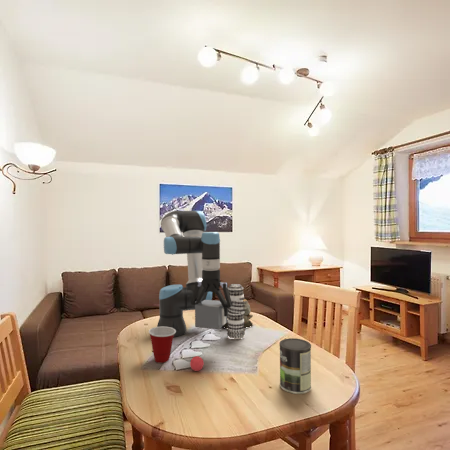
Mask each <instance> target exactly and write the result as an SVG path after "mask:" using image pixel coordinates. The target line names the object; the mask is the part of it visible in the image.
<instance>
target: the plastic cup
mask: <svg viewBox="0 0 450 450" xmlns="http://www.w3.org/2000/svg"><path fill="white" fill-rule="evenodd" d="M175 332H176V330H175V329H173V328H171V327H164V326H161V327H157V326H155V327H151V328H149V330H148V334H149V337H150V342H151V347H152V353H153V358H154V361H155V362H156V363H160V364H161V363H166V362H169V360H170V358H171V352H172V346H173V340H174V338H175V337H174V334H175Z"/></svg>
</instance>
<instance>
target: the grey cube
mask: <svg viewBox="0 0 450 450" xmlns="http://www.w3.org/2000/svg"><path fill="white" fill-rule="evenodd" d="M222 308H224V307H223V306H222V304H221V302H220V300H216V299H215V300H213V299H212V300H204V301H202V302H200V303H198V304H196V305H195V310H194V327H195V328H198V329H199V328H200V329H201V328H203V329H210V330H220V329H221V328H223V327H222V326H223V325H222ZM227 320H228V319H227V316H226V323H227ZM226 323H225V324H226ZM225 324H224V325H225Z"/></svg>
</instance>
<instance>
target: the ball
mask: <svg viewBox="0 0 450 450" xmlns="http://www.w3.org/2000/svg"><path fill="white" fill-rule="evenodd" d="M204 363H205V362H204V359H203V358H202V357H201V356H198V355H197V356H193V357H191V360H190V362H189V365H190V368H191V370H193V371H195V372H199V371H201V370H202V369H203V368H204Z"/></svg>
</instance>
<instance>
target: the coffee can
mask: <svg viewBox="0 0 450 450" xmlns="http://www.w3.org/2000/svg"><path fill="white" fill-rule="evenodd" d="M278 344H279V386H280V388H281V389H282V390H283V391H285V392H287V393H290V394H293V395H304V394H307V393H309V392H310V391H311V390H312V372H311V371H312V365H311V363H312V354H311V353H312V352H311V349H312V344H311V342H309V341H307V340H305V339H303V338H302V339H301V338H293V337H292V338H291V337H290V338H284V339H282V340H280V341H279V343H278Z"/></svg>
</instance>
